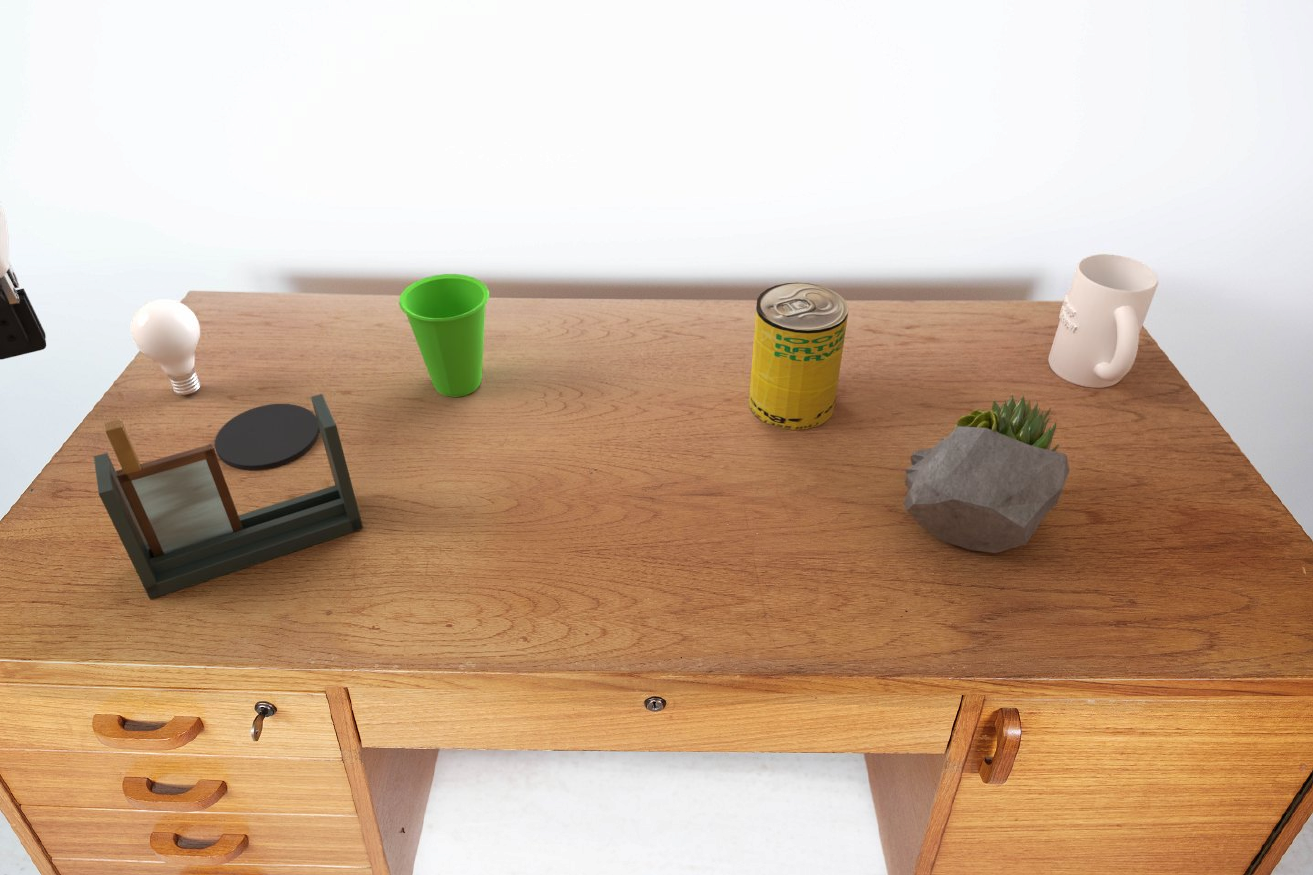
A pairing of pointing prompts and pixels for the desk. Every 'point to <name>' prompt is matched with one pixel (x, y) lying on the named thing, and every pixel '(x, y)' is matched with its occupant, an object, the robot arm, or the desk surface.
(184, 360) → the lightbulb
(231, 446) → the coaster
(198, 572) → the window frame
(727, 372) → the desk surface
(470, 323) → the cup
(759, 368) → the beverage can
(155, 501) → the window sash
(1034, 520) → the potted plant
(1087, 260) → the mug
